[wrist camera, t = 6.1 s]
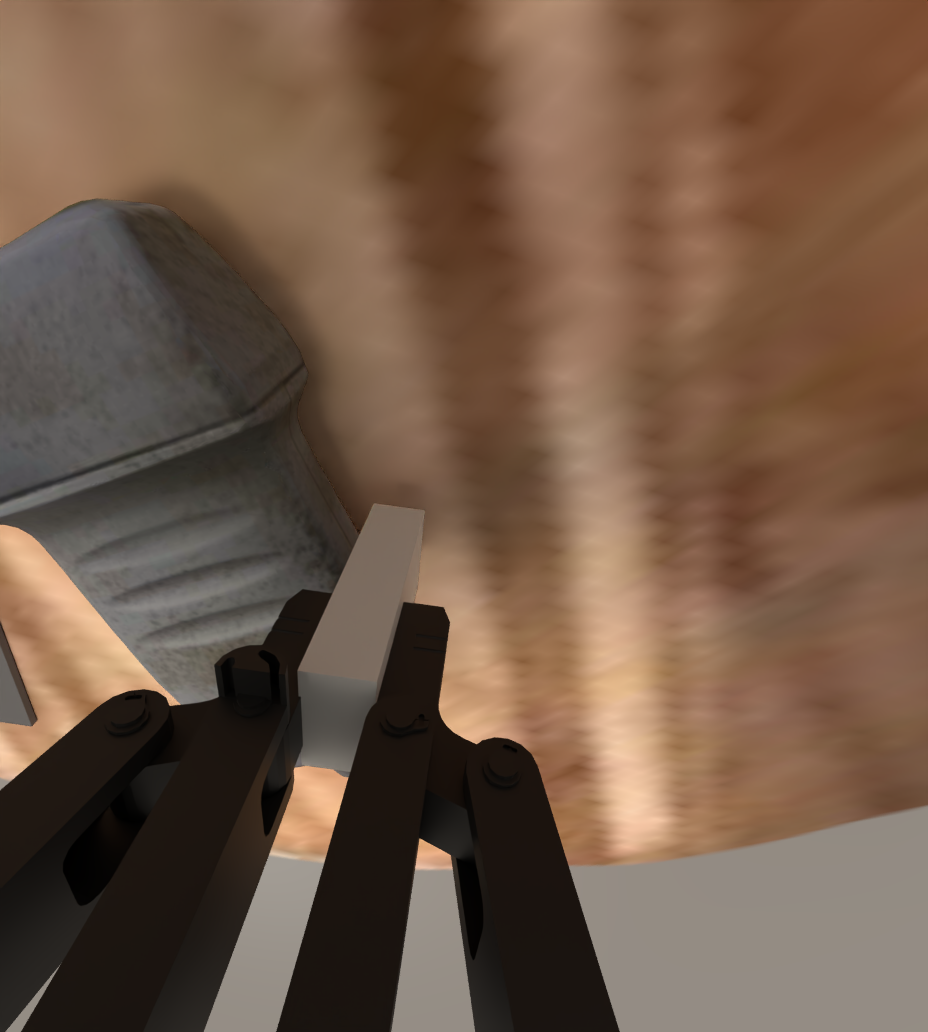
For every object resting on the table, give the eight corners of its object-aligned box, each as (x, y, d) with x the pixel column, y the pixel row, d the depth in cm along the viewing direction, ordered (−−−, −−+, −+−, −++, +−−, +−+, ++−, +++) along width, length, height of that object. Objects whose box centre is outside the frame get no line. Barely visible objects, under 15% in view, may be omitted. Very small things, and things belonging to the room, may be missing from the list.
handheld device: (279, 752, 25) (233, 858, 21) (-52, 306, 16) (-241, 339, 12) (481, 713, 23) (474, 823, 19) (223, 174, 14) (105, 159, 10)
